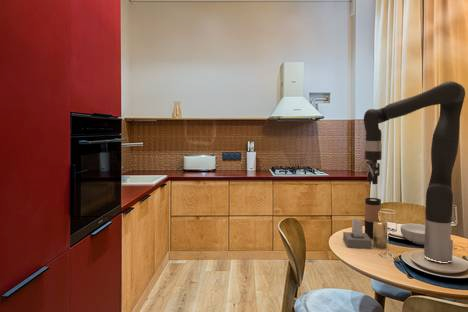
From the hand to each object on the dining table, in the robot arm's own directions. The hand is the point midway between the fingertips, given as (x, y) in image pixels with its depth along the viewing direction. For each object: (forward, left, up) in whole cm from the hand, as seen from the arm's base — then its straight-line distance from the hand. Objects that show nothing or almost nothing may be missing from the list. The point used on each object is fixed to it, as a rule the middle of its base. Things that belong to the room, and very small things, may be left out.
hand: (372, 182), depth 149 cm
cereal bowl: (-24, -4, -30) cm, 39 cm away
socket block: (+8, +4, -30) cm, 31 cm away
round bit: (-2, +6, -30) cm, 31 cm away
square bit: (+8, +4, -30) cm, 31 cm away
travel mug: (-3, -9, -30) cm, 32 cm away
